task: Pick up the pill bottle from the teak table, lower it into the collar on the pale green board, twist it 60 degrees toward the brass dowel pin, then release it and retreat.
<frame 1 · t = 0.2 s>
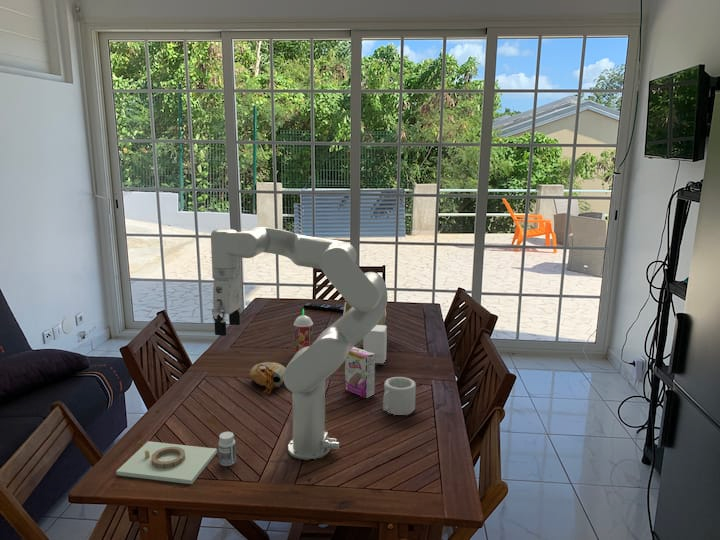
hand: (227, 329, 160), 36 cm above the table, tool pointing down, fingers open, 9 cm apart
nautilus: (267, 387, 207), on the table
supplement box: (374, 361, 233), on the table
flower pot: (364, 343, 255), on the table
socket board: (168, 463, 156), on the table
mug: (396, 411, 189), on the table
smoothie: (303, 353, 241), on the table
pill bottle: (227, 462, 157), on the table
candy bar box: (359, 393, 202), on the table
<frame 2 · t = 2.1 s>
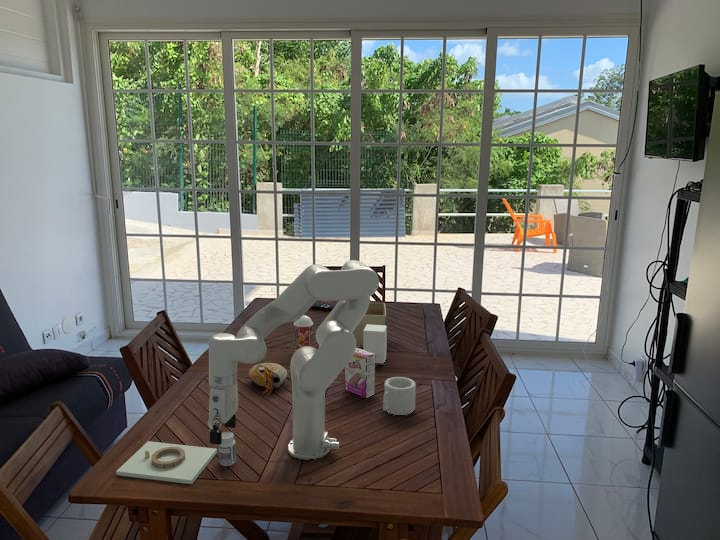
hand: (223, 435, 155), 8 cm above the table, tool pointing down, fingers open, 9 cm apart
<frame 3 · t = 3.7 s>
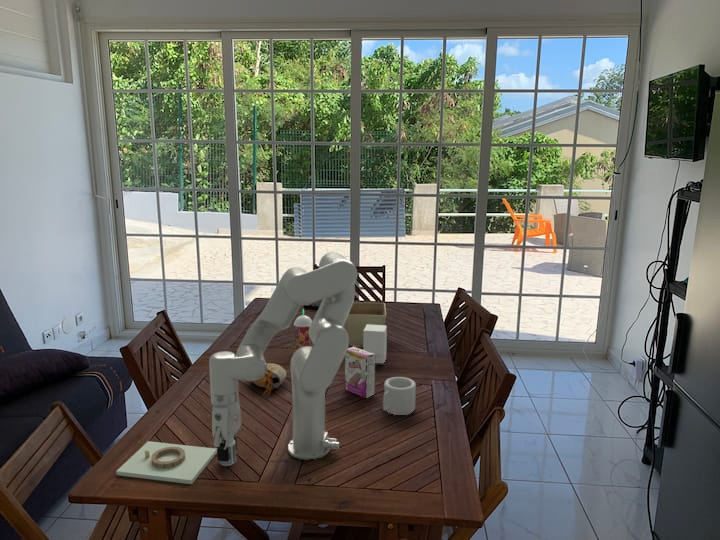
hand: (227, 454, 157), 2 cm above the table, tool pointing down, fingers closed on pill bottle, 4 cm apart
pill bottle: (227, 462, 157), on the table, touching gripper
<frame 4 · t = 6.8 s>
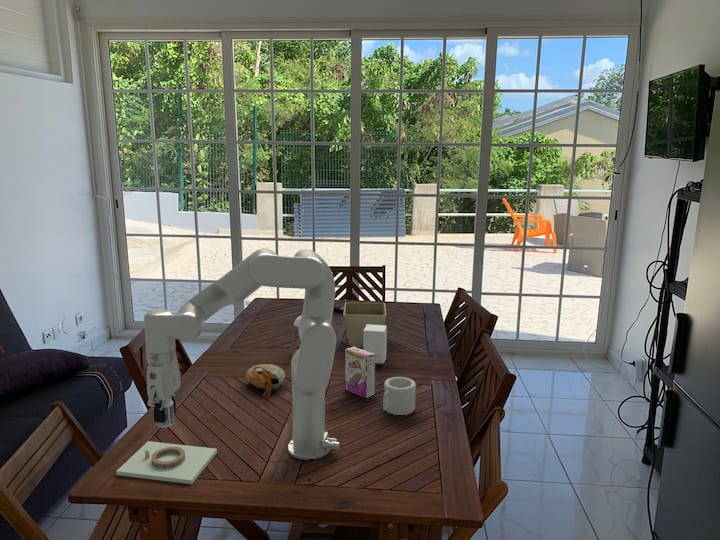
hand: (165, 416, 153), 14 cm above the table, tool pointing down, fingers closed on pill bottle, 4 cm apart
pill bottle: (165, 424, 153), point 12 cm above the table, touching gripper
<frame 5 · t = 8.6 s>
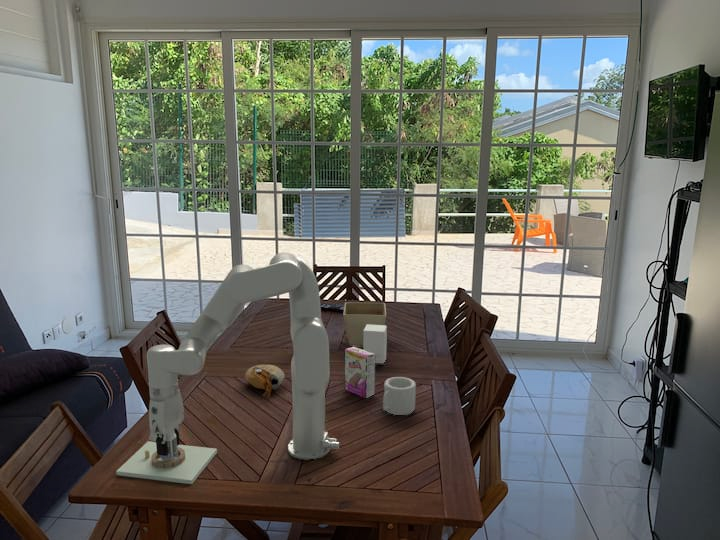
hand: (168, 449, 155), 4 cm above the table, tool pointing down, fingers closed on pill bottle, 4 cm apart
pill bottle: (168, 456, 156), point 2 cm above the table, touching gripper
when the fingers open (4 cm above the table, at t = 9.9 s): pill bottle drops 1 cm, resting on socket board.
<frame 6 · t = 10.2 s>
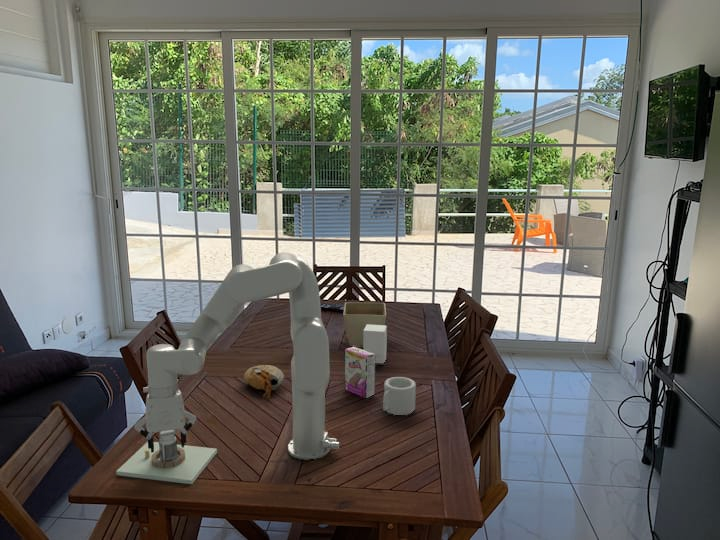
hand: (167, 447, 155), 5 cm above the table, tool pointing down, fingers open, 7 cm apart
pill bottle: (169, 460, 156), point 1 cm above the table, touching socket board
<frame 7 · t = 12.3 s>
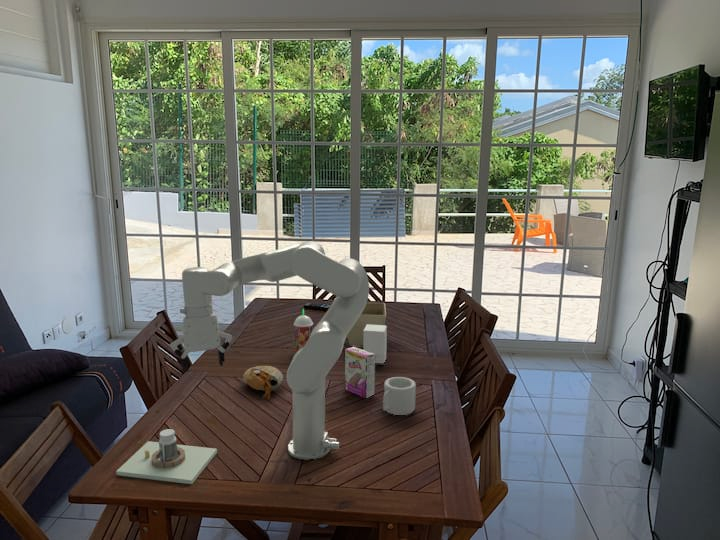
hand: (204, 366, 160), 25 cm above the table, tool pointing down, fingers open, 9 cm apart
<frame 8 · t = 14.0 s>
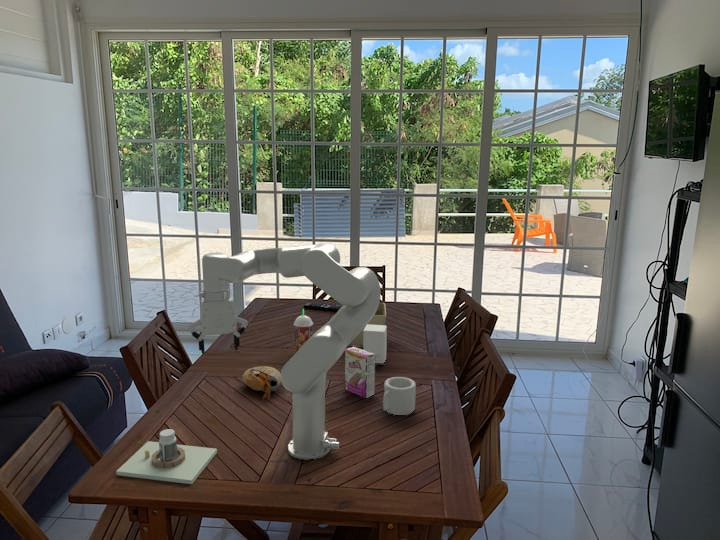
hand: (219, 350, 165), 28 cm above the table, tool pointing down, fingers open, 9 cm apart
at the end: pill bottle 0.1 cm from the socket board (horizontally); pill bottle tilted 0°; the gripper is holding nothing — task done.
